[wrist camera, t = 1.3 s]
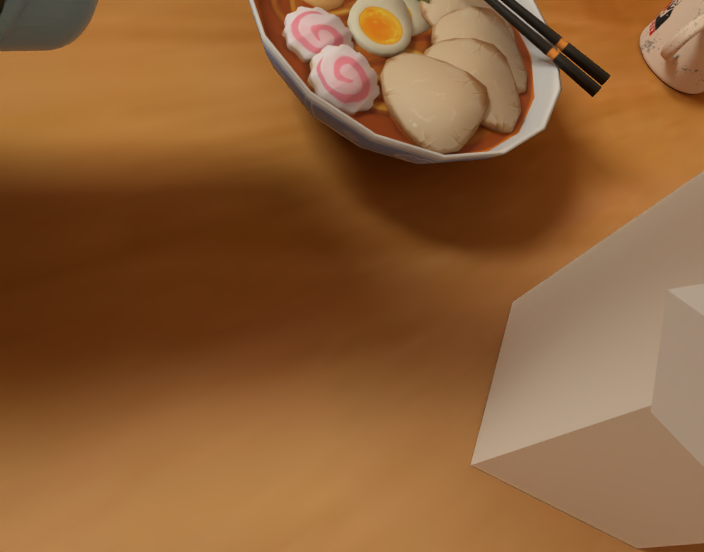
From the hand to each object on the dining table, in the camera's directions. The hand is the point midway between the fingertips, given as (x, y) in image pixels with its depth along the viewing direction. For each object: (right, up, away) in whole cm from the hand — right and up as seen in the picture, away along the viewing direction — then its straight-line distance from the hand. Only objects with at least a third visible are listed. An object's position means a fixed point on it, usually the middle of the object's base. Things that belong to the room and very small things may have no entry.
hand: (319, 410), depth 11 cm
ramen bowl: (+2, +17, +37) cm, 40 cm away
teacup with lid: (+32, +23, +52) cm, 65 cm away
